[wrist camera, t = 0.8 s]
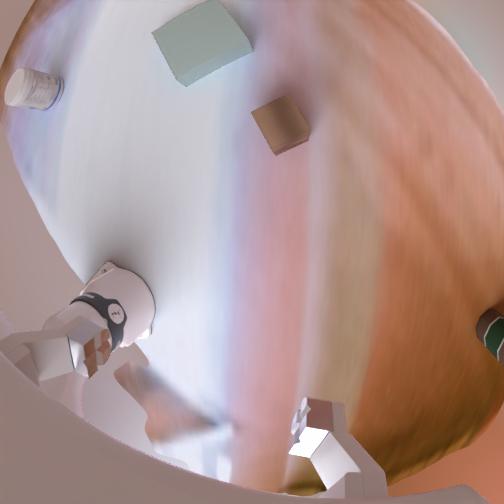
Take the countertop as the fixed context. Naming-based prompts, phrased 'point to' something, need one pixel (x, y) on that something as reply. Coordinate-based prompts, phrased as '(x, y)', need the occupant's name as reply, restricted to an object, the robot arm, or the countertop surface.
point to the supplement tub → (33, 89)
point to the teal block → (201, 41)
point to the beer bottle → (492, 333)
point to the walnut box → (282, 124)
